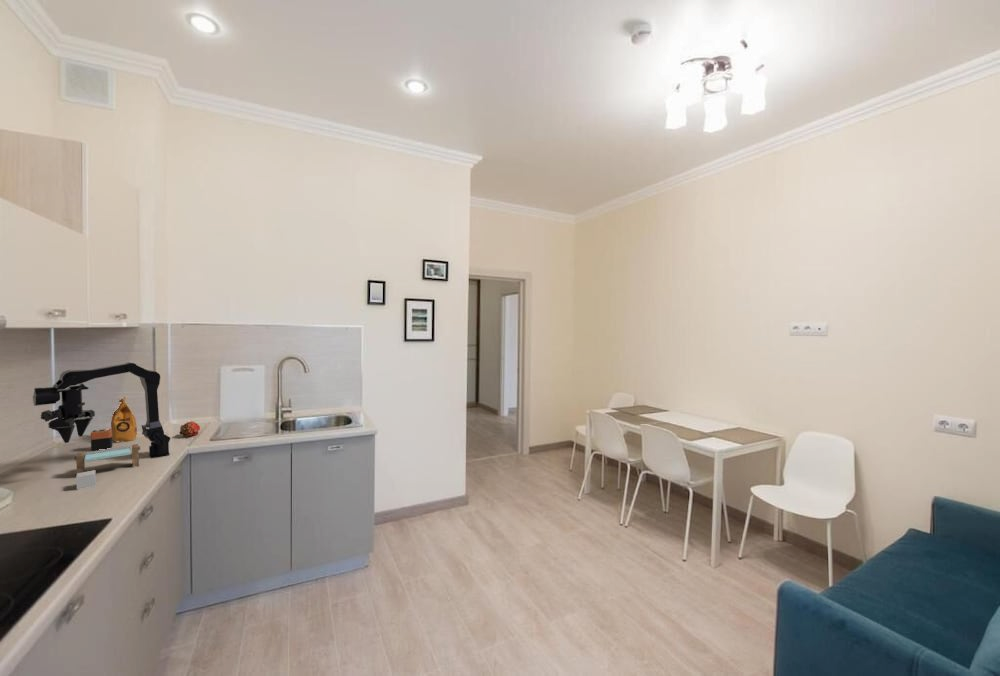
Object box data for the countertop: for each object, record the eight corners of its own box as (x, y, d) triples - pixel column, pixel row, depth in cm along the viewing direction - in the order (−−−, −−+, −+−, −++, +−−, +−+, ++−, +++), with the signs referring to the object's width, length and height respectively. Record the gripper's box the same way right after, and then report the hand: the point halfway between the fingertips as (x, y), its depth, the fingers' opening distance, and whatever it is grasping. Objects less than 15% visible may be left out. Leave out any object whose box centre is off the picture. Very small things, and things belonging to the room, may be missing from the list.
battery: (93, 449, 198) (92, 428, 197) (112, 446, 201) (112, 426, 201) (91, 451, 194) (90, 430, 193) (110, 449, 198) (109, 428, 197)
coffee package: (110, 444, 205) (108, 400, 204) (112, 438, 215) (110, 396, 214) (136, 440, 212) (135, 398, 210) (137, 434, 221) (136, 394, 220)
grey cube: (96, 482, 160) (95, 470, 159) (95, 486, 156) (95, 473, 156) (77, 486, 156) (77, 473, 156) (76, 490, 153) (76, 477, 152)
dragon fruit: (186, 442, 214) (190, 439, 225) (202, 431, 218) (205, 428, 229) (174, 430, 213) (178, 428, 223) (190, 419, 216) (194, 417, 227)
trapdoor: (130, 452, 181) (130, 445, 181) (130, 458, 173) (130, 451, 173) (86, 459, 171) (86, 452, 171) (85, 466, 164) (84, 459, 163)
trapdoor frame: (140, 462, 181) (139, 443, 180) (140, 465, 177) (140, 446, 177) (75, 474, 167) (75, 453, 167) (74, 477, 164) (74, 456, 163)
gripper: (60, 398, 172) (62, 434, 173) (28, 407, 155) (31, 448, 155) (94, 396, 176) (96, 432, 177) (67, 405, 159) (69, 445, 159)
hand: (73, 439), depth 167 cm, fingers open, 9 cm apart
